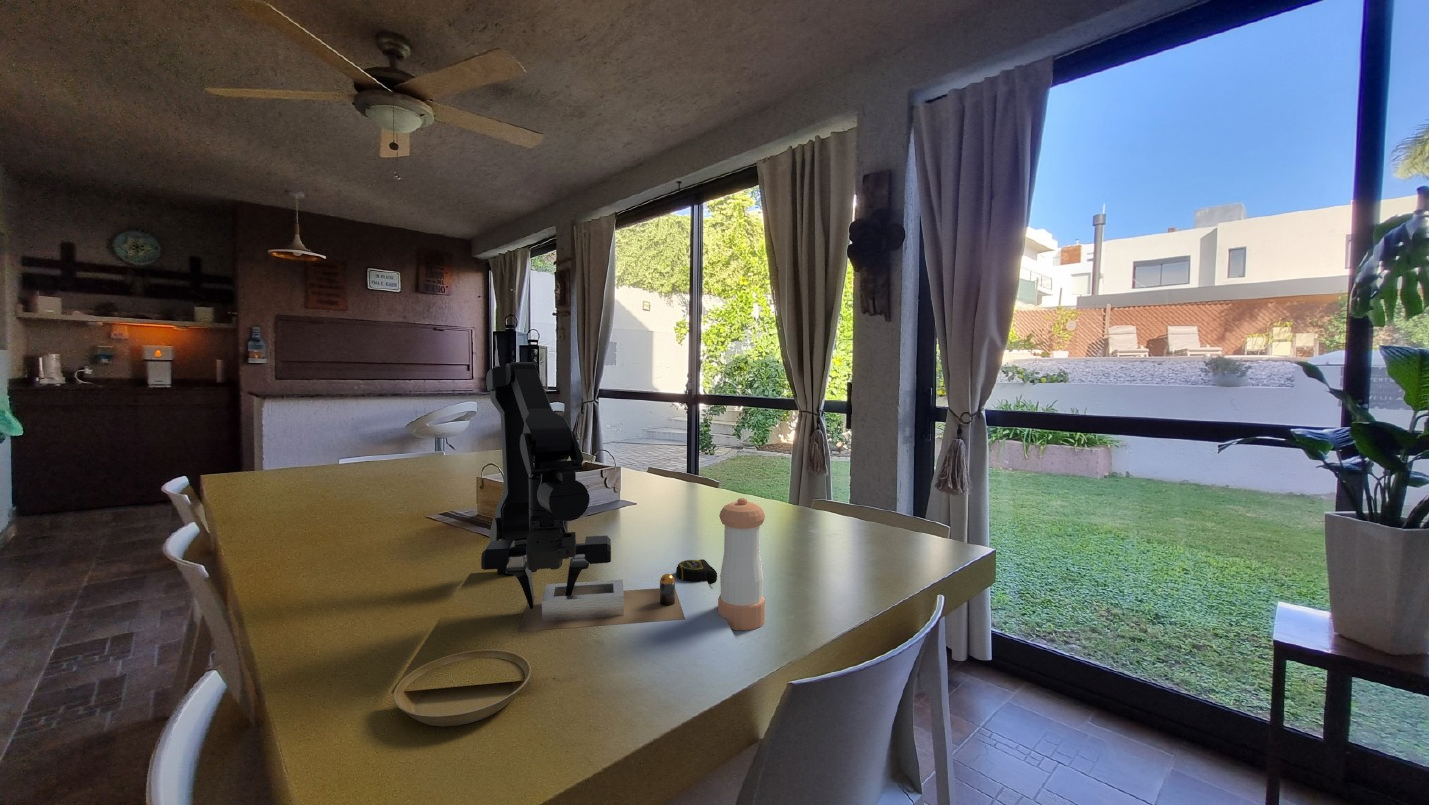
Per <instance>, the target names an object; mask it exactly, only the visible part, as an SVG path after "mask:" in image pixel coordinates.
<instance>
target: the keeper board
mask: <svg viewBox="0 0 1429 805" xmlns="http://www.w3.org/2000/svg"><path fill="white" fill-rule="evenodd" d="M623 591H624V615H620V616H606V617H592V618H579V619H565V620H551V621H542V599H543V595H536V596H535V595H534V607H533V609H530V607H529V604H528V602H526V606H525V609H524V612H523V616H522V619H521V622H520V624H519V627H518V631H517V632H518V633H525V632H536V631H549V630H550V631H551V630H562V629H575V628H576V629H577V628H588V627H589V628H591V627H599V626H600V627H602V626H617V625H630V624H642V623H643V624H644V623H657V622H669V621H680V620H681V621H683V620H686V617H685V614H684V611H683V609H682V605H681V602H680V598H679V595H678V593H677V590H676V588H675V604H674V605H671V606H663V605H661V604H660V587H659V588H645V589H644V588H643V589H627V590H623Z"/></svg>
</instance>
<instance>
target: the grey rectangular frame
mask: <svg viewBox="0 0 1429 805" xmlns="http://www.w3.org/2000/svg"><path fill="white" fill-rule="evenodd" d="M566 587H567V582H559V583H547V584H546V585H545V589H544V592H543V595H542V596H543V599H542V621H551V620H565V619H579V618H592V617H606V616H620V615H624V591H625V590H624V582H623V579H610V580H594V581H593V580H591V581H578V582H577V581H576V582H575V585H574V588H573V591H572V594H571V596H565V595H566Z"/></svg>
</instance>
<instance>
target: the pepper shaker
mask: <svg viewBox="0 0 1429 805" xmlns="http://www.w3.org/2000/svg"><path fill="white" fill-rule="evenodd" d="M765 514H766V513H765V511H764V509H763V508H762V507H761V506H760V505H758V504H756V503H755V502H750V501H749V500H748V499H747V498H745V497H739V498H738V499H737V500H736V501H734V502H733V501H732V502H730V503H728V504H725V505H724V506H723V507H722V509H721V510H720V512H719V515H718V517H719V520H720V521H721V523H722V525H724V531H723V532H724V535H723V536H724V537H723V538H724V539H723V540H724V541H723V542H724V543H723V556H722V563H721V569H720V575H719V578H720V582H719V583H720V587H719V588H720V594H719V595H718V598H717V611H718V612H717V613H718V614H719V615H720V616H721V617H723V618H725V620H726V622H727V624H728V626H729V628H730V630H734V631H735V630H736V631H751V630H755V629H759V628H760V627H761V626H763V625H764V624H765V622H766V620H765V619H766V599H765V597H764V595H763V592H764V590H763V589H764V588H763V587H764V573H763V567H762V560H761V552H760V551H761V548H760V547H761V544H760V542H761V541H760V540H761V539H760V538H761V537H760V536H761V529H760V528H761V526H762V525H763V523H764V522H765V518H766V515H765Z"/></svg>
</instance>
